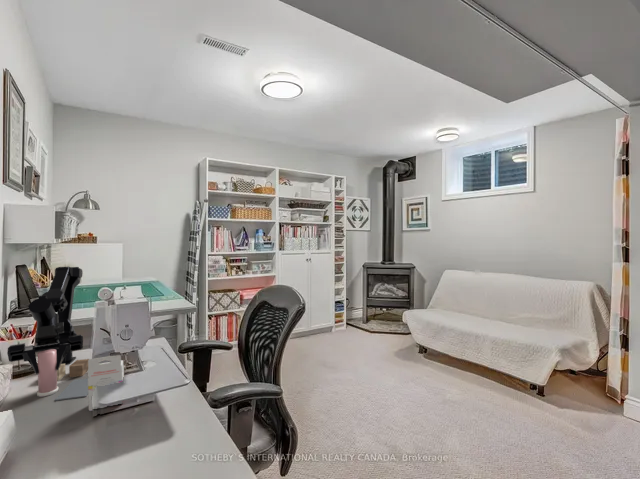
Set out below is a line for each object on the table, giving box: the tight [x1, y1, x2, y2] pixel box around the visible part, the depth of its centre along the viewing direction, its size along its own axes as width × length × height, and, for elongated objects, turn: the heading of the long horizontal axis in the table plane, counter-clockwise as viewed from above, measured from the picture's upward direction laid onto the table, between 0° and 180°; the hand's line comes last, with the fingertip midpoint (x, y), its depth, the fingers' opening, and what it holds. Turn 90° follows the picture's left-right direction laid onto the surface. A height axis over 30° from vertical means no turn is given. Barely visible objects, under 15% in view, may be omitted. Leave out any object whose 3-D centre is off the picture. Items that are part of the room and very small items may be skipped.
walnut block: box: [68, 358, 90, 378], centre depth 119 cm, size 6×4×4 cm, turn 15°
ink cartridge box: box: [87, 354, 125, 412], centre depth 97 cm, size 9×5×15 cm, turn 115°
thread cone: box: [36, 349, 59, 398], centre depth 104 cm, size 5×5×13 cm
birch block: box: [57, 364, 66, 381], centre depth 115 cm, size 5×5×4 cm
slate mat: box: [54, 377, 88, 402], centre depth 107 cm, size 14×8×1 cm, turn 18°
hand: (47, 371), depth 103 cm, fingers closed on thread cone, 5 cm apart
